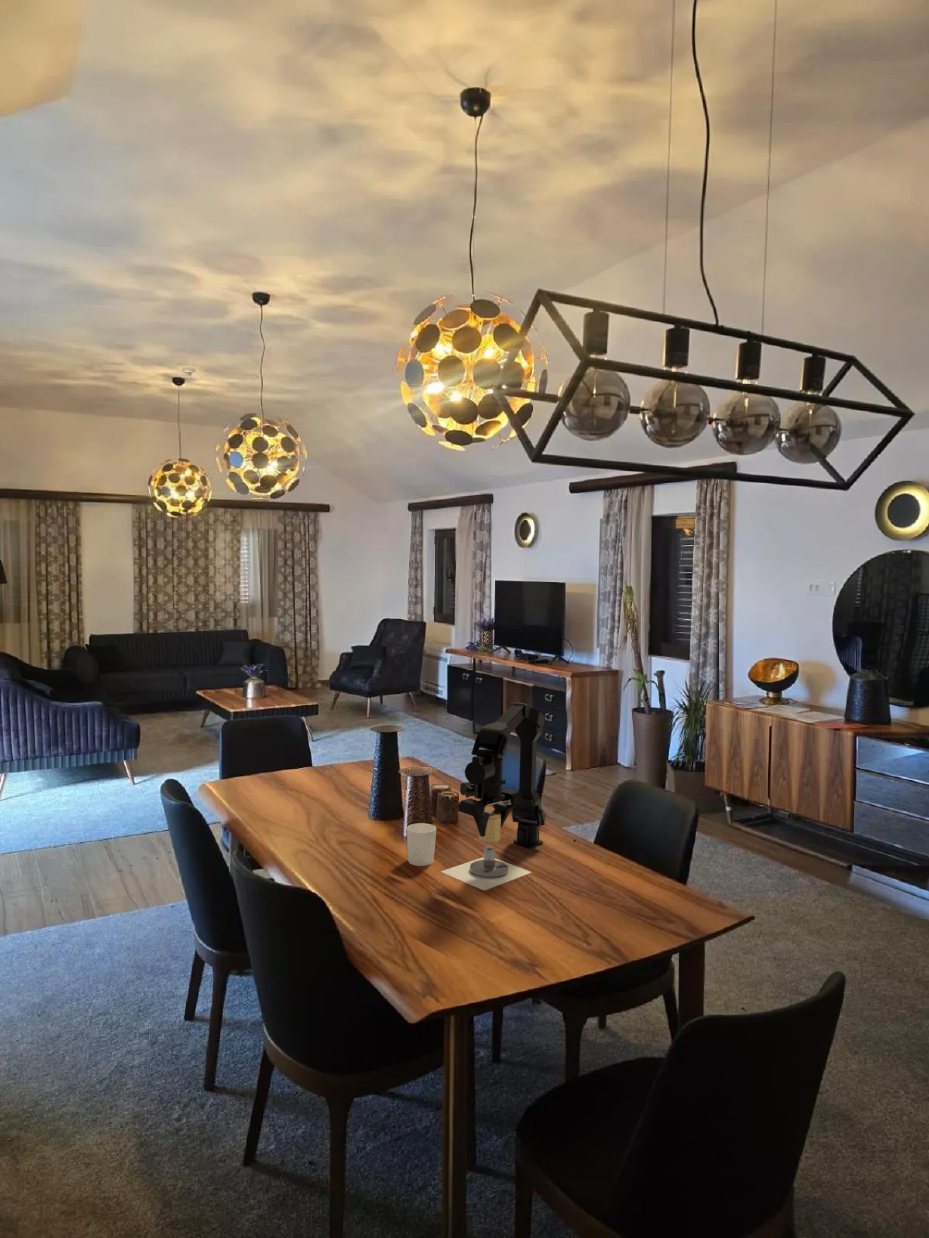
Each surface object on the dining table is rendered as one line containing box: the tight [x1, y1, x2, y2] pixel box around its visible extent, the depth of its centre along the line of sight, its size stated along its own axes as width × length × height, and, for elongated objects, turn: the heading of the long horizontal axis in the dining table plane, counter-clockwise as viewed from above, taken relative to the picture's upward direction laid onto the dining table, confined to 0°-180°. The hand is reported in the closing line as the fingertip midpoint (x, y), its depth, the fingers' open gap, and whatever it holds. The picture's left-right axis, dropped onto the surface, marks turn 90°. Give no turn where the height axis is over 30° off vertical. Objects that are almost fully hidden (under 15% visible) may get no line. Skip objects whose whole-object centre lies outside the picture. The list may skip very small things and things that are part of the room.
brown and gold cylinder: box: [478, 809, 502, 843], centre depth 206 cm, size 6×6×7 cm
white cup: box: [406, 822, 437, 867], centre depth 212 cm, size 8×8×10 cm
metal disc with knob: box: [470, 845, 508, 878], centre depth 206 cm, size 10×10×6 cm
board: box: [440, 856, 532, 891], centre depth 206 cm, size 18×16×1 cm
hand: (489, 833), depth 206 cm, fingers closed on brown and gold cylinder, 6 cm apart
